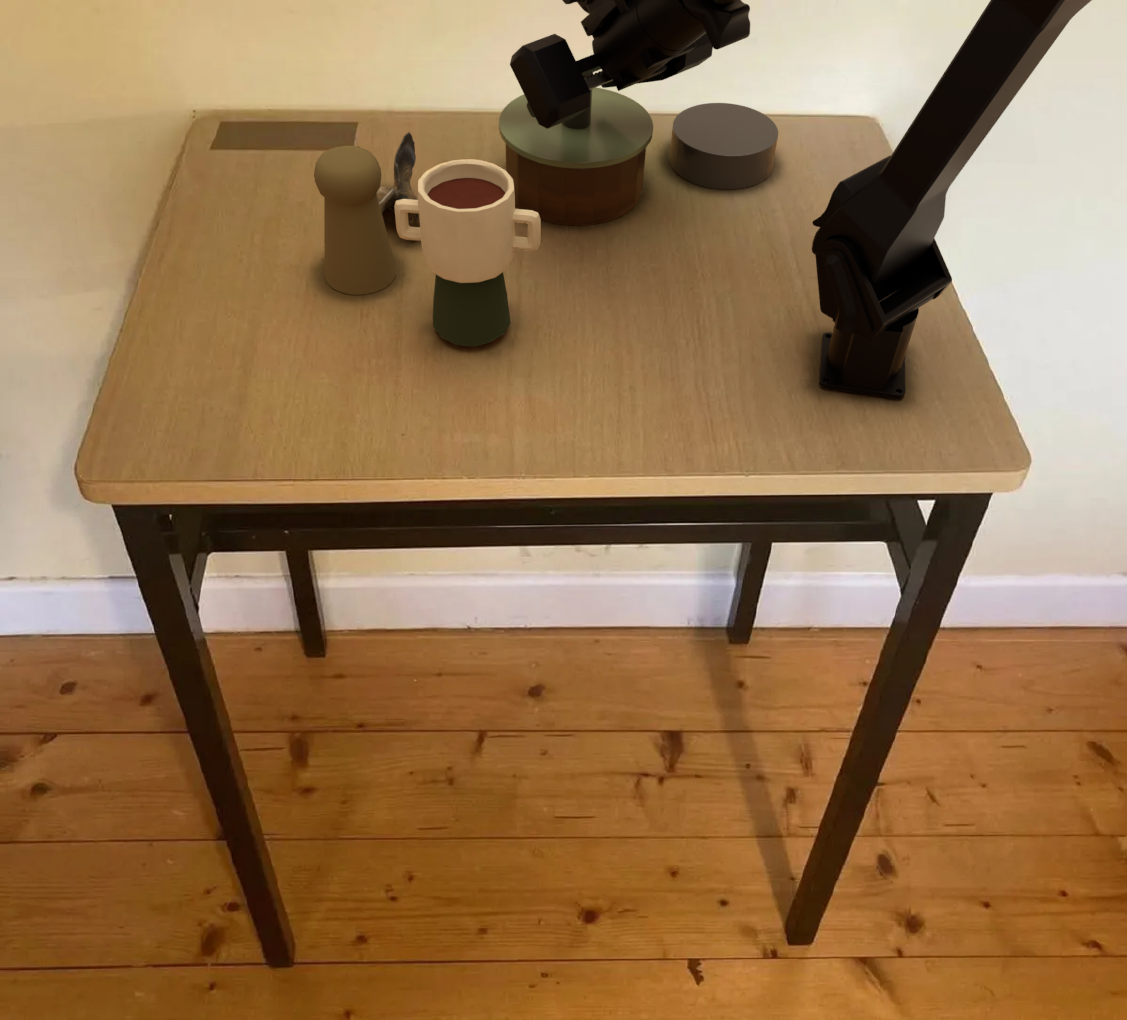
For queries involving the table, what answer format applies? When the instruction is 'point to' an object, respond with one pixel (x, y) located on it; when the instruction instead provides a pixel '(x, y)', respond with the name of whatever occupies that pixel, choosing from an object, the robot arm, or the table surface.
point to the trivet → (723, 145)
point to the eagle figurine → (401, 180)
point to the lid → (580, 132)
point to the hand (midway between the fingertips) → (566, 96)
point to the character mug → (468, 245)
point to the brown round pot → (576, 189)
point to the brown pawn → (353, 222)
